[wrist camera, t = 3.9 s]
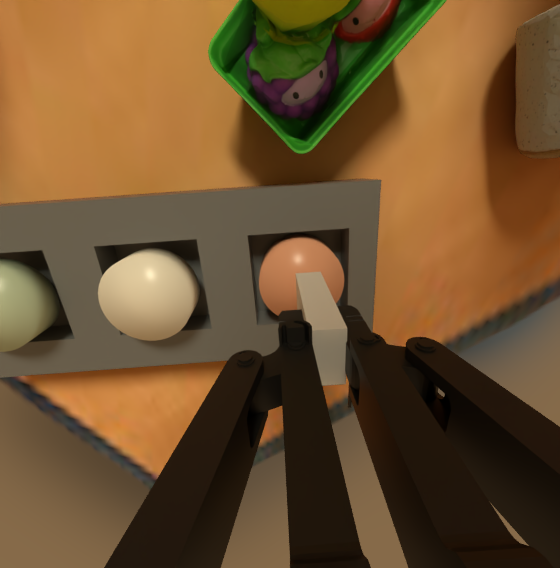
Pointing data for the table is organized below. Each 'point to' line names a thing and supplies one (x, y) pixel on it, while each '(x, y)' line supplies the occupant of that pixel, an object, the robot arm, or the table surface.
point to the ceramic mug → (538, 85)
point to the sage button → (24, 304)
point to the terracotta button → (296, 270)
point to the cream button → (149, 294)
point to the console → (196, 252)
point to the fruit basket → (311, 57)
